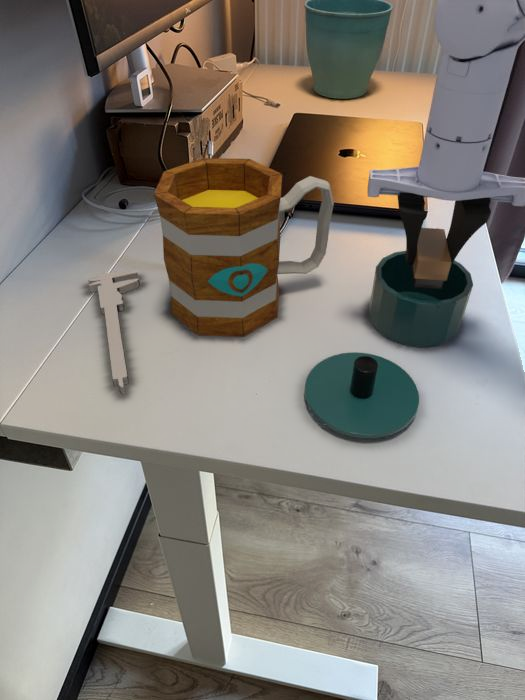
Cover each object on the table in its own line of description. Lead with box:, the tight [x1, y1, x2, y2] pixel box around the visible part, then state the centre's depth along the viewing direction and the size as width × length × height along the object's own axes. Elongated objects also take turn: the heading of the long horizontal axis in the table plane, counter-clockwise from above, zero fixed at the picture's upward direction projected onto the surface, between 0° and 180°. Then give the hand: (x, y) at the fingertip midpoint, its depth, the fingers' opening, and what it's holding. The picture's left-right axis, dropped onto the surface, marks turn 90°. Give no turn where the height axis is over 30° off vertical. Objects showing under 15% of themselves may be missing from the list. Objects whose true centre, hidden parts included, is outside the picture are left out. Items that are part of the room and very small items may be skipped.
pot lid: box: [304, 352, 420, 439], centre depth 52 cm, size 11×11×5 cm
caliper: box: [87, 270, 141, 395], centre depth 61 cm, size 20×1×6 cm
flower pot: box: [304, 0, 394, 100], centre depth 117 cm, size 18×18×17 cm
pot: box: [368, 250, 474, 348], centre depth 61 cm, size 10×10×6 cm
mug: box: [153, 157, 335, 338], centre depth 61 cm, size 20×14×15 cm
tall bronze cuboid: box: [411, 227, 451, 289], centre depth 57 cm, size 3×6×4 cm, turn 172°
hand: (428, 261), depth 57 cm, fingers closed on tall bronze cuboid, 3 cm apart
